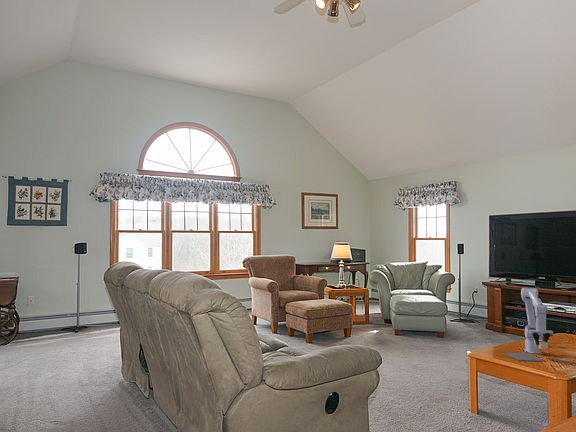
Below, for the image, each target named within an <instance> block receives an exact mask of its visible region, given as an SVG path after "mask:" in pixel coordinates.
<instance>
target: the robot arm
mask: <svg viewBox="0 0 576 432" xmlns="http://www.w3.org/2000/svg"><path fill="white" fill-rule="evenodd" d="M520 297H521V300H522V301H523V302H524V304H525V305H524V306H525V311H526V317H527V322H528V323H527V325H526V326H525V327H524V336H525V337H524V338H526V339H525V340H524V349H523V350H524V351H526V353H528V354H538V355H539V354H541V355H542V354H543V352H541V351H540V348H538V347H536V346H534V340H535V343H536V345H539V340H542V339H541V338H542V335H543V341H545V342H547V343H548V341H549V339H550V338H551V337H550V335H549V334H553V335H554V331H553V330H547V314H548V313H549V312H548V310H549V309H548V306H547V305H546V304H543V301H542V299H540V298H539V290H538V289H537V288H536V287H535V288H530V287H529V288H528V287H522V288H521V290H520Z"/></svg>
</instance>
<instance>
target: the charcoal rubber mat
mask: <svg viewBox="0 0 576 432" xmlns="http://www.w3.org/2000/svg"><path fill="white" fill-rule="evenodd" d="M504 355H506V356H508V357H510V358H511V357H512V358H511V359H513V358H514V360H515V359H516V361H517V360H518V361H517V362H544V360H543V359H541V358H538V357H536V356H534V355H533V354H531V353H529V352H525V353H524V352H521V353H520V352H519V353H518V352H504Z"/></svg>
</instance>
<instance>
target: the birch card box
mask: <svg viewBox="0 0 576 432" xmlns="http://www.w3.org/2000/svg"><path fill="white" fill-rule="evenodd" d="M534 346H536V347H538V348H539V350H549V342H548V341H547V342H545V341H542V339H540V340H539V345H536V343H535V340H534Z"/></svg>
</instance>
